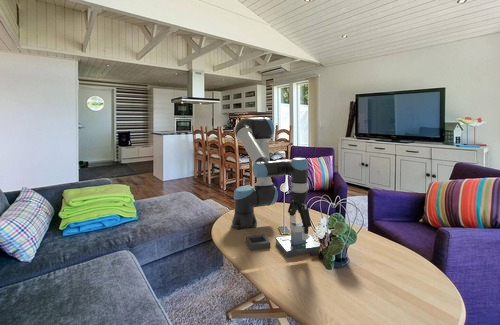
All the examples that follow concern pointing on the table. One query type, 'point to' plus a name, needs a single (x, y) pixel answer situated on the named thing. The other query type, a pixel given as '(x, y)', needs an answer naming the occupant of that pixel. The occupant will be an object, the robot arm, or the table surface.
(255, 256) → the table surface
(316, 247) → the port panel
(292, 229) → the plug
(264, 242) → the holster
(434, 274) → the table surface
